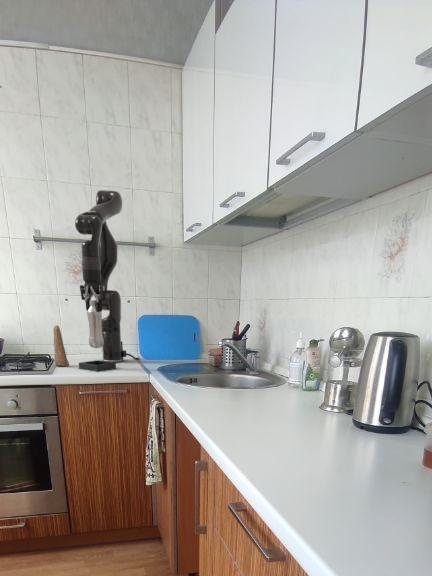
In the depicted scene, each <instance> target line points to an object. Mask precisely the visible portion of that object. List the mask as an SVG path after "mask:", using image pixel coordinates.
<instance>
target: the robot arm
mask: <svg viewBox="0 0 432 576" xmlns="http://www.w3.org/2000/svg"><path fill="white" fill-rule="evenodd" d="M122 209H123V198H122V195H121V194H120V192H119V191H117V190H107V189H105V190H103V189H102V190H101V189H100V190H97V192H96V197H95V205H94V206H92V208H90V209H89V210H88V211H85V212H82V213H79V214H78V215H77V216H76V218H75V221H74V227H75V229H76V231H77V233H79V234H80V235H84V236H85V235H86V236H89V235H90V236H91V237H90V239H88V240H84V241H82V242H81V268H82V269H81V270H82V280H83V281H84V284H80V285H79V291H80V298H81V300H82V301H84V302H85V309H86V311H88V309H89V307H90V305H89V304H90V302H89V301H90V300H92V298H95V300H96V301H97V302H96V303H97V311H98V312H103V311H107V312H108V311H109V312H108V315H107V316H106V317H102V321H101V327H102V336H103V340H104V345H103V347H101V353H102V361H106V362H113V363H120V362H124V358H127V356H128V357H131V358H132V359H134V360H140V357H135V356H134V355H133V354H130V353H127V350H124V348H123V341H122V335H121V334H122V333H121V320H122V297H121V293H119V291H118V290H114V289H108V285H109V280H110V278H111V275H112V274H113V271H114V270H115V268H116V266H117V263H118V252H119V251H118V244H117V241H116V239H115V237H114V236H113V234H112V232H111V230H110V229H109V226H108V222H107V220H109V219H110V218H113V217H114V216H116V215H119V214H120V213H121V212H122Z"/></svg>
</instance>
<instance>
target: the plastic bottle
mask: <svg viewBox="0 0 432 576" xmlns="http://www.w3.org/2000/svg"><path fill="white" fill-rule="evenodd" d="M89 302H90V304H89V305H90V307H89V309H88V311H87V310H86V311H87V312H86V316H87V321H88V326H89V327H88V329H89V336H88V344H89V347H90V348H93V349H100V348H101V349H102V347H103V345H104V340H103V336H102V327H101V321H102V319H103V311H101V312H98V311H97V303H96V302H97V301H96V299H94V300H93V299H91V300H90V301H89Z"/></svg>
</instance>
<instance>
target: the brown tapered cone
mask: <svg viewBox="0 0 432 576" xmlns="http://www.w3.org/2000/svg"><path fill="white" fill-rule="evenodd" d="M63 340H64V339H63V337H62V331H61V328H60V326H59V325H55V326H54V327H53V348H54V352H53V353H54V364H55V365H56V366H57V367H59V366H60V367H69V366H70V362H69V360H68V357H67V352H66V349H65V346H64V345H65V344H64V341H63Z"/></svg>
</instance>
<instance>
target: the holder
mask: <svg viewBox="0 0 432 576" xmlns="http://www.w3.org/2000/svg"><path fill="white" fill-rule="evenodd" d="M78 369H80V370H84V371H91V372H102V371H109V370H115V369H117V362H106V361H103V360H100V359H97V360H96V359H95V360H89V361H81V362H78Z"/></svg>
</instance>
